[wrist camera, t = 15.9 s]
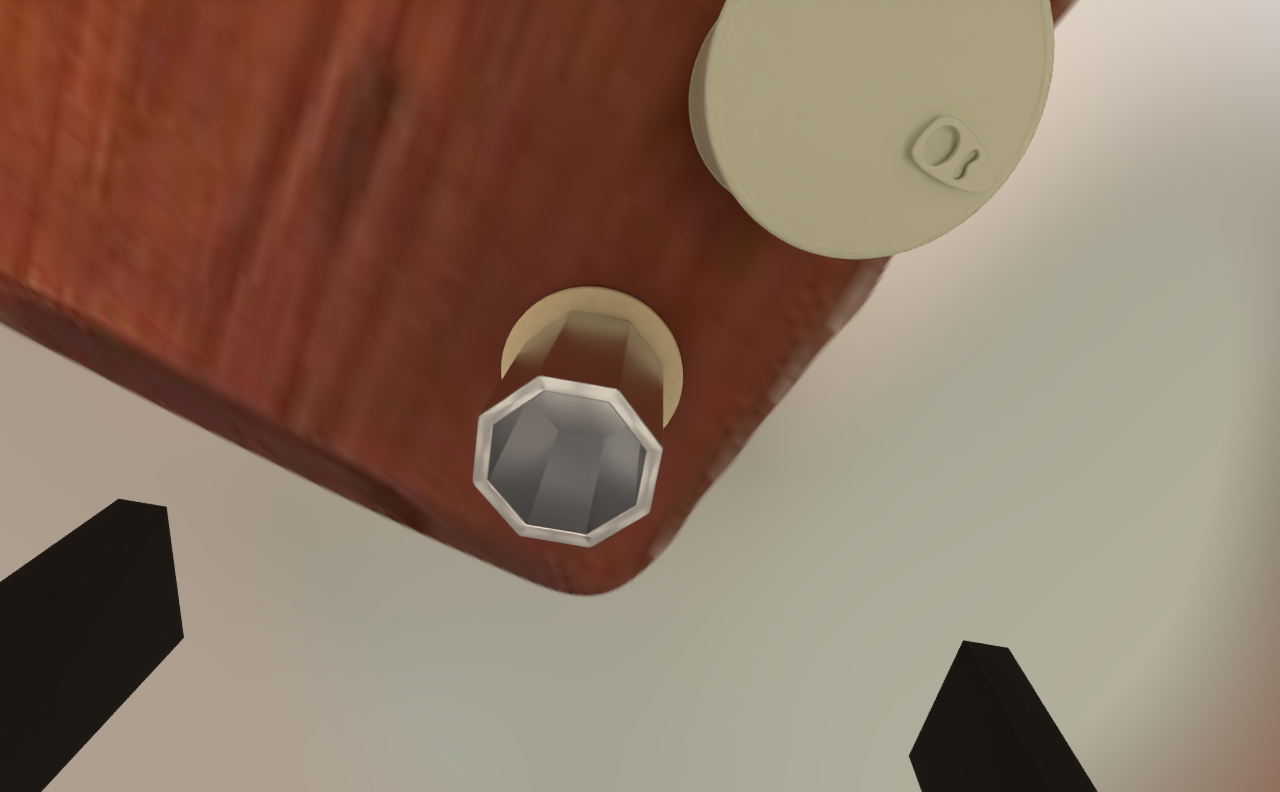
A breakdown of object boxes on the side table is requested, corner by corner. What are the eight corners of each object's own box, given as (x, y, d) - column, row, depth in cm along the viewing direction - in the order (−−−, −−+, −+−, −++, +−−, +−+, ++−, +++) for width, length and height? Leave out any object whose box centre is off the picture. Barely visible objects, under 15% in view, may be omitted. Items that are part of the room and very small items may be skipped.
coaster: (512, 270, 32) (510, 271, 31) (699, 304, 32) (700, 306, 32) (494, 439, 35) (492, 442, 35) (664, 468, 35) (664, 472, 35)
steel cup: (530, 301, 32) (482, 365, 23) (671, 326, 32) (673, 398, 24) (515, 428, 34) (467, 527, 26) (646, 451, 35) (640, 556, 26)
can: (809, 252, 31) (890, 327, 20) (645, 128, 29) (633, 133, 18) (956, 70, 28) (1149, 37, 17) (783, -82, 26) (870, -231, 15)
